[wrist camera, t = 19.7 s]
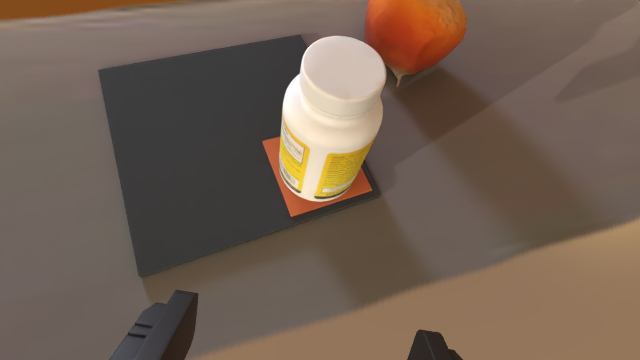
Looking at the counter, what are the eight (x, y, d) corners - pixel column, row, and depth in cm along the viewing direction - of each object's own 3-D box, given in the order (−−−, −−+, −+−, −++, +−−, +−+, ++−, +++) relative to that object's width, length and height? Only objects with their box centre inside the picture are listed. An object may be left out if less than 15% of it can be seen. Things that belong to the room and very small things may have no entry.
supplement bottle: (363, 151, 26) (413, 48, 17) (341, 215, 24) (387, 132, 15) (294, 125, 26) (310, 10, 17) (265, 186, 24) (266, 88, 15)
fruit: (328, 54, 29) (378, -54, 24) (359, 48, 35) (403, -38, 31) (413, 108, 27) (481, 4, 23) (429, 91, 34) (484, 8, 30)
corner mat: (100, 73, 26) (96, 67, 26) (299, 37, 31) (300, 32, 30) (140, 277, 21) (137, 275, 20) (379, 197, 25) (381, 193, 25)
